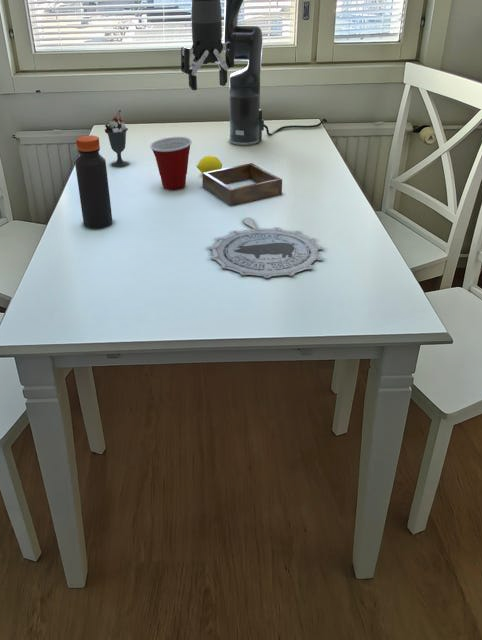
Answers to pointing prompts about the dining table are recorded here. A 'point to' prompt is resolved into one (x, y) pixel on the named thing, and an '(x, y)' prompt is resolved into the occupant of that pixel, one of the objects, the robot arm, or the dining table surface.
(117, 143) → the sundae
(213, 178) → the wooden box
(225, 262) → the decorative wall hanging
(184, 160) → the plastic cup
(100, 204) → the bottle
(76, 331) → the dining table surface
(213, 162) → the lemon
